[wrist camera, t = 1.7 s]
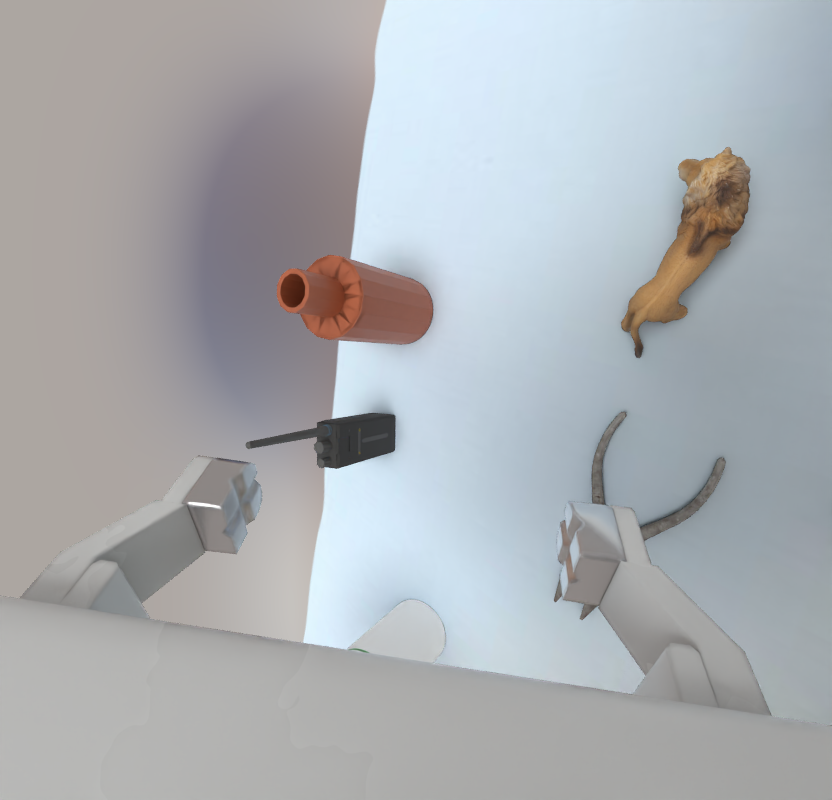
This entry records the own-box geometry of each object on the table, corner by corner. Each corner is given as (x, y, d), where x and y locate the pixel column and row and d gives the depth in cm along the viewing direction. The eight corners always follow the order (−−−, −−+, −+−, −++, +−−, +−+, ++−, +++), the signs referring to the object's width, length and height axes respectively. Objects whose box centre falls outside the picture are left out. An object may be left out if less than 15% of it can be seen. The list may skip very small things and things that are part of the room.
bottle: (397, 266, 52) (282, 227, 37) (445, 300, 50) (342, 273, 34) (367, 321, 55) (248, 305, 39) (411, 356, 52) (301, 354, 37)
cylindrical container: (381, 618, 57) (197, 778, 35) (417, 587, 54) (241, 740, 32) (418, 671, 55) (246, 875, 33) (457, 642, 52) (298, 845, 30)
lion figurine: (685, 179, 38) (687, 132, 31) (757, 193, 36) (780, 145, 28) (610, 347, 42) (595, 344, 34) (671, 369, 40) (671, 371, 32)
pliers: (734, 441, 37) (658, 656, 41) (732, 439, 38) (659, 651, 42) (608, 407, 42) (550, 605, 45) (609, 407, 42) (552, 601, 46)
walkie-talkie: (371, 410, 55) (230, 432, 38) (395, 412, 54) (260, 436, 36) (371, 450, 56) (231, 490, 38) (394, 453, 54) (260, 496, 37)
